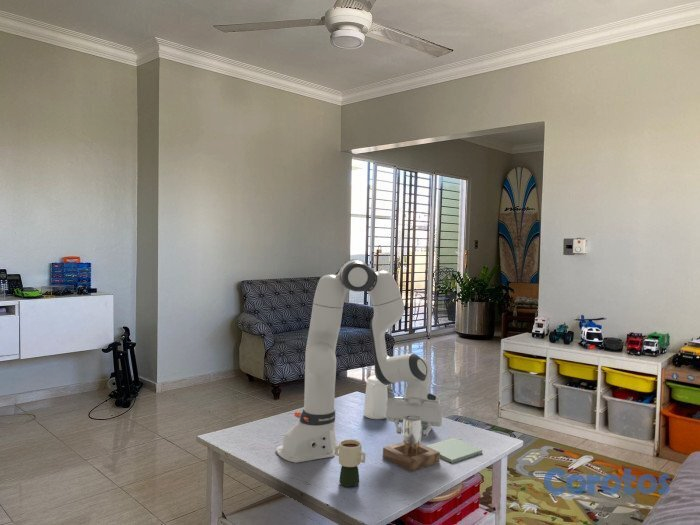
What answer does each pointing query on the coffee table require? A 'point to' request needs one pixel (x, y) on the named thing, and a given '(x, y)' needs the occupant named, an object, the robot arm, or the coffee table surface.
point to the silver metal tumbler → (411, 435)
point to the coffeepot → (375, 399)
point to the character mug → (349, 461)
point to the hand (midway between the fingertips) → (411, 434)
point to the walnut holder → (411, 463)
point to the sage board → (454, 450)
